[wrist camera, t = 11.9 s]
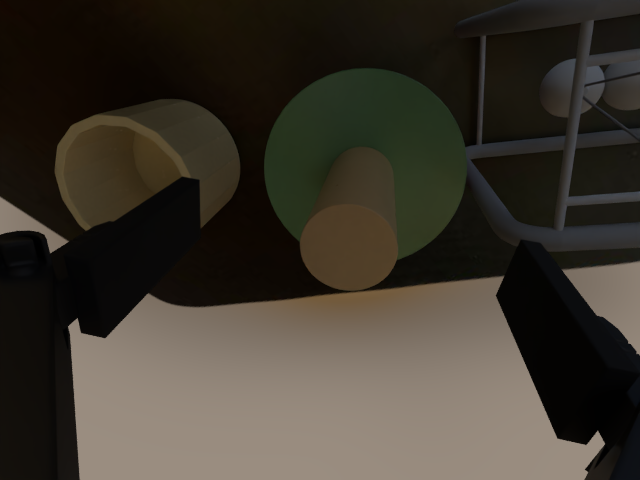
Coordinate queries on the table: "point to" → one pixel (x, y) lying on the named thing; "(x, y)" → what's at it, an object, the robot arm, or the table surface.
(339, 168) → the lid
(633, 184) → the table surface
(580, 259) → the table surface
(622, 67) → the newton's cradle
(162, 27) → the table surface
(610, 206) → the table surface
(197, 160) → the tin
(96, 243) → the robot arm
